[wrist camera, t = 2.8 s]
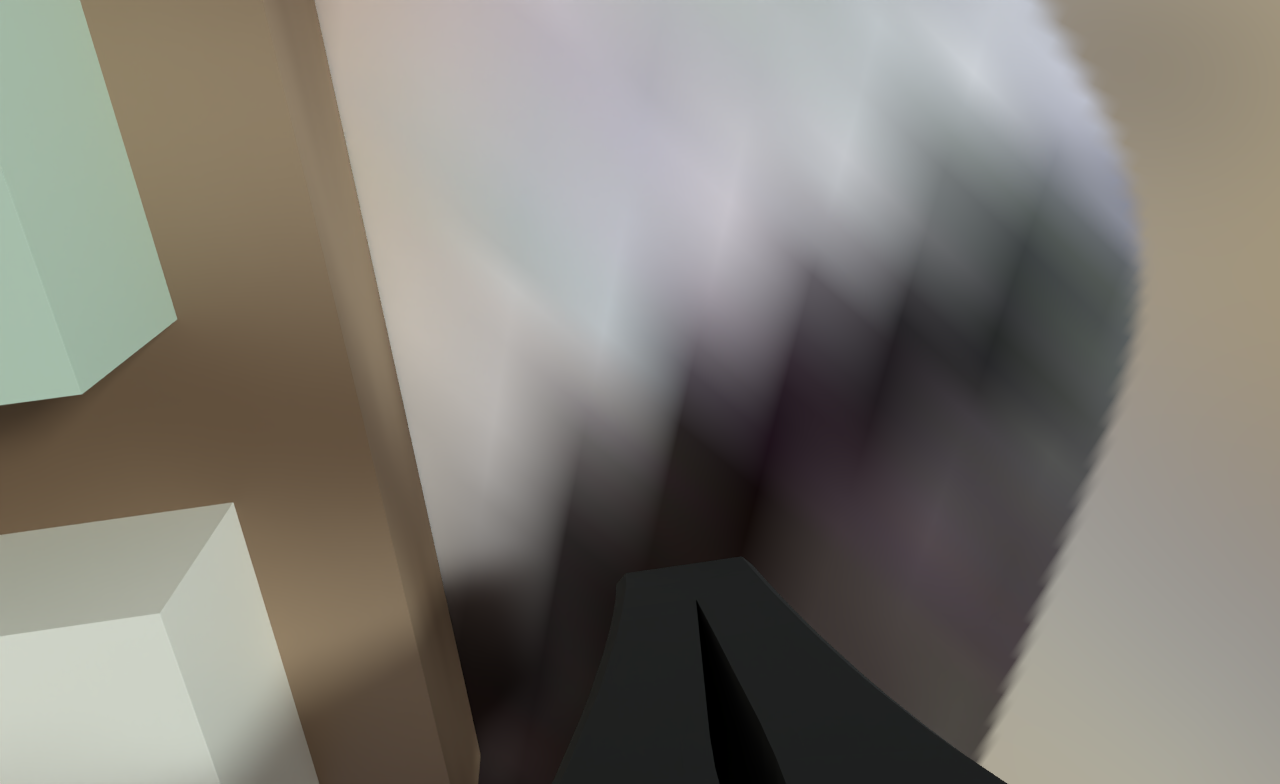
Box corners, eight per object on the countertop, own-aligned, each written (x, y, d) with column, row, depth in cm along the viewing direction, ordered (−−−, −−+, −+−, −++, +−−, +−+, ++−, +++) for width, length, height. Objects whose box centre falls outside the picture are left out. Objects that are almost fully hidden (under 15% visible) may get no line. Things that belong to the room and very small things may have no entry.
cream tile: (322, 796, 11) (278, 948, 9) (-19, 849, 11) (-132, 1014, 9) (233, 502, 10) (160, 613, 8) (-163, 557, 10) (-333, 684, 8)
